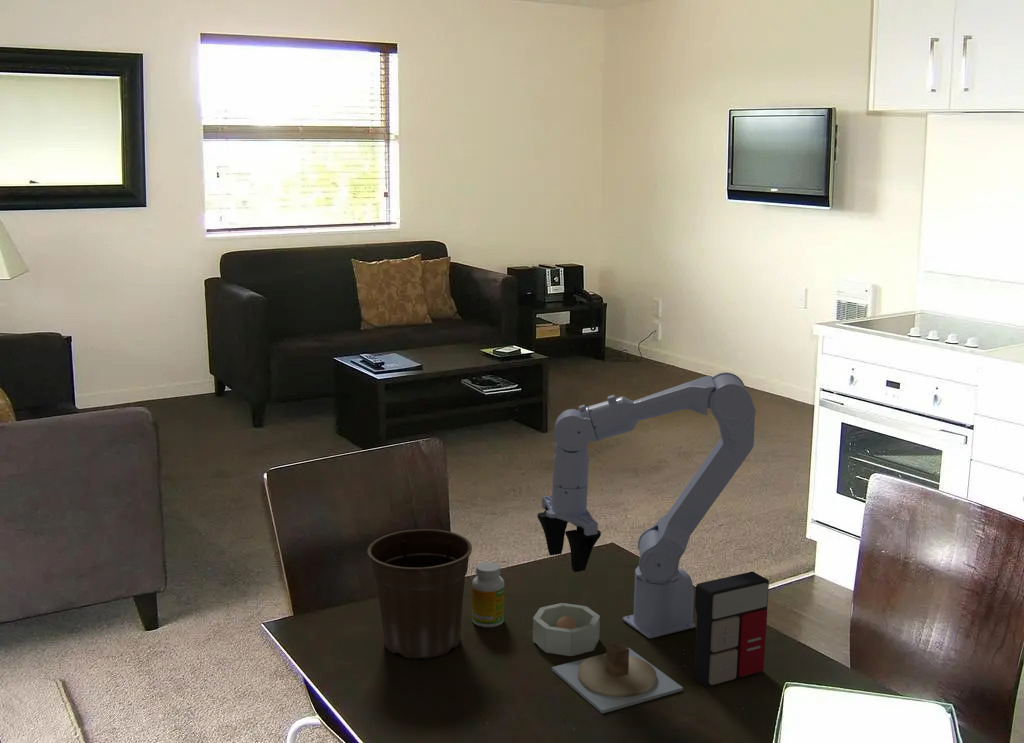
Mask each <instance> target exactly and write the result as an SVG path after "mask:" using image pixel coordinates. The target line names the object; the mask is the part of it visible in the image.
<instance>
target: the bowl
mask: <svg viewBox="0 0 1024 743" xmlns="http://www.w3.org/2000/svg"><path fill="white" fill-rule="evenodd" d="M564 616H568V617H571V618H573V619H574V621H575V622H576V628H574V629H565V628H558V627H556V625H557V622H558V620H559V619H560V618H562V617H564ZM600 620H601V616H600V615H599V614H598V613H597V612H595V611H594V610H592V609H591V608H590V607H588V606H586V605H582V604H581V605H579V604H572V603H566V602H565V603H564V602H560V603H556V604H551V605H547V606H546V605H545V606H542V607H539V608H538V610H537V612H536V613H535V615H534V616H533V617H532V642H533V644H535V643H536V644H537V645H538V647H539V648H540V649H541V650H542V651H543V652H545V653H546V654H554V655H561V656H567V657H574V656H578V655H581V654H585V652H586V653H590V652H593V651H595V649H596V646H597V645H598V643H599V641H600V630H601V629H600V628H601V627H600V624H601V623H600V622H601V621H600ZM536 644H535V645H536ZM537 645H536V646H537Z"/></svg>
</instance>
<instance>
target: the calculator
mask: <svg viewBox="0 0 1024 743" xmlns="http://www.w3.org/2000/svg"><path fill="white" fill-rule="evenodd" d="M769 585H770V581H769V579H768V578H766V577H764V576H762V575H760V574H758V573H757V572H755V571H748V572H743V573H739V574H734V575H730V576H725V577H721V578H717V579H712V580H708V581H703V582H699V583H696V585H695V593H694V609H695V613H696V626H695V628H696V629H695V630H696V631H695V633H696V634H695V647H694V648H695V651H694V668H693V669H694V670H693V671H694V672H693V673H694V674H693V678H694V679H695V680H697V681H698V682H700V683H701V684H702V685H704V687H706V688H708V687H712V686H716V685H719V684H723V683H726V682H730V681H734V680H737V679H741V678H744V677H748V676H750V675H751V676H752V675H754V674H758V673H761V672H763V671H764V669H765V668H764V667H765V657H766V656H765V655H766V654H765V653H766V638H767V624H768V604H769V603H768V601H769V587H770V586H769Z"/></svg>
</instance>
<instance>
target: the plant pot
mask: <svg viewBox="0 0 1024 743" xmlns="http://www.w3.org/2000/svg"><path fill="white" fill-rule="evenodd" d="M472 551H473V545H472V543H471V541H469V540H468V538H466V537H465V536H462V535H461V534H458V533H456V532H452V531H450V530H449V531H447V530H443V529H432V528H431V529H430V528H429V529H428V528H425V529H424V528H423V529H421V528H420V529H409V530H408V529H407V530H401V531H397V532H393V533H392V532H391V533H389V534H386V535H384V536H381V537H379V538H377V539H375V540H374V541H373V542H371V543H370V544H369V546H368V548H367V556H368V558H369V559H370V560H371V561H370V562H371V565H372V574H373V578H374V579H375V581H376V589H377V594H378V603H379V609H380V610H379V611H380V619H381V626H382V633H383V634H382V635H383V642H384V643H383V644H384V646H385V648H386V649H387V650H388V652H390V653H391V654H395V655H396V654H399V655H401V656H402V657H404V658H407V659H419V658H423V659H430V658H431V659H432V658H436V657H440V656H442V655H446V654H449V652H450V650H452V649H453V648H457V647H458V645H459V644H460V643H461V633H462V632H461V629H462V615H463V606H464V605H463V602H464V592H465V580H466V575H467V573H468V569H469V568H468V567H469V558H470V556H471V554H472Z"/></svg>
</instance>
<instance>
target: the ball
mask: <svg viewBox="0 0 1024 743" xmlns="http://www.w3.org/2000/svg"><path fill="white" fill-rule="evenodd" d="M556 627H558V628H565V629H574V628H576V622H575V621H574V619H573V618H571V617H568V616H564V617H562V618H560V619H559V620H558V622H557V625H556Z"/></svg>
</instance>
